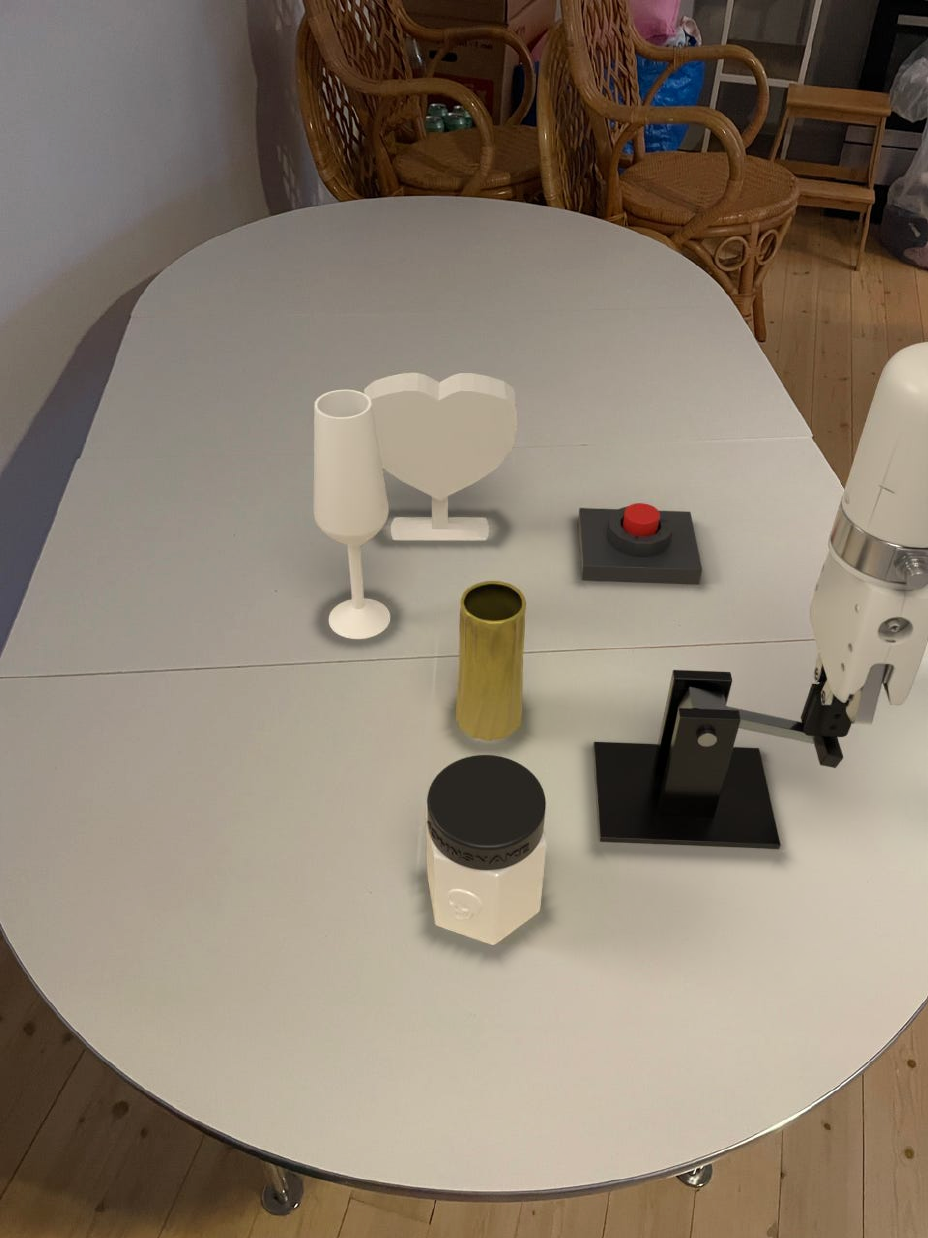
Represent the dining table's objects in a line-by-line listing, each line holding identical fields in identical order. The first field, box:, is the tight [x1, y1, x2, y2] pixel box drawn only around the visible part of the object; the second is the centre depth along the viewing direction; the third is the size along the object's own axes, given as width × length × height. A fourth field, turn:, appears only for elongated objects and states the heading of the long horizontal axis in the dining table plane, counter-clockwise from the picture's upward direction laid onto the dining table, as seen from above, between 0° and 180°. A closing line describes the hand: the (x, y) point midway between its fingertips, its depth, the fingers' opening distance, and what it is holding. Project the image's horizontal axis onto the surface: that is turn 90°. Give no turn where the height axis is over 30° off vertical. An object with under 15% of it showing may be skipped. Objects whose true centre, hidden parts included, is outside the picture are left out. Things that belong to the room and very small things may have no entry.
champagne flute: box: [313, 389, 391, 640], centre depth 94 cm, size 7×7×24 cm
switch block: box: [577, 505, 703, 586], centre depth 109 cm, size 12×10×4 cm
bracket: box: [592, 669, 782, 850], centre depth 82 cm, size 14×10×13 cm
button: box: [623, 502, 660, 536], centre depth 107 cm, size 4×4×2 cm
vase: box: [455, 580, 527, 742], centre depth 87 cm, size 6×6×14 cm
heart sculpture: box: [363, 372, 519, 541], centre depth 107 cm, size 16×5×18 cm, turn 91°
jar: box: [425, 754, 548, 946], centre depth 75 cm, size 9×8×12 cm
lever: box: [678, 687, 844, 769], centre depth 79 cm, size 12×5×2 cm, turn 88°
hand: (822, 728), depth 79 cm, fingers closed
